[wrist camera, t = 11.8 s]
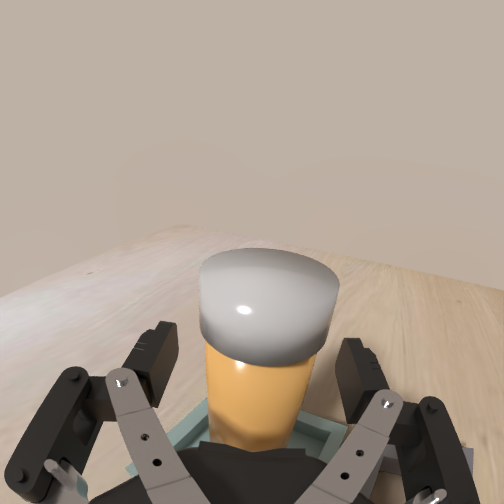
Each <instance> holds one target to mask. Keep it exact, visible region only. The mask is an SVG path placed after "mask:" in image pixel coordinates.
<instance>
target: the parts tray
mask: <svg viewBox="0 0 504 504" xmlns="http://www.w3.org/2000/svg"><path fill="white" fill-rule="evenodd" d="M347 429H348V426H345V425H342V424H339V423H336V422H333V421H330V420H327V419H324V418H321V417H319V416H316V415H313V414H310V413H308V412H305V411H303V410H300V411H299V414H298V417H297V420H296V423H295V426H294V429H293V432H292V435H291V437H290V440H289V443H288V446H287V448H305V450H306V455H308V456H312V457H315V458H317V459H320V460H322V461H324V462H325V463H327V464H328V463H329V462H330V461H331V459H332V458H333V457H334V455H335V454H336V453H337V451H338V450H339V448H340V445H341V443H342V441H343V438H344V436H345V434H346V431H347ZM166 435H167V437H168V439H169V440H170V442H171V444H172V446H173V448H174V449H175V451H179V450H182V449H186V448H191V447H198V446H199V442H200V440H201V441H207V442H210V437H209V421H208V402H207V398H206V399H205V400H203V401H202V402H201V403H200V404H199V405H198V406H197V407H196V408H195V409H194V410H193V411H192V412H191V413H189V414H188V415H187V416H186V417H185V418H184V419H183V420H182V421H181V422H179V423H178V424H177V425H176V426H175V427H174V428H173V429H172V430H170V431H169V432H168V433H167V434H166ZM125 469H126V470H127V472H128V473H129V475H130V476H131V478H133V477H134V476H136V475H138V472H137V470H136V467H135V465H134V463H133V462H132V463H131V464H130V465H129V466H127V467H126V468H125Z"/></svg>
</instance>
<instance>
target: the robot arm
mask: <svg viewBox="0 0 504 504" xmlns="http://www.w3.org/2000/svg"><path fill="white" fill-rule="evenodd" d="M178 352H179V347H178V336H177V325H176V323H172V322H166V321H160V322H159V324H158V325H157V327H156V329H155V330H152V329H149V330H147V331H146V332H144V333H143V334H142V335H141V336H140V338H139V339H138V341H137V343H136V344H135V346H134V348H133V349H132V351H131V352H130V354H129V356H128V357H127V359H126V361H125V362H124V364H123V366H122V367H121V368H117V369H114V370H112V371H110V372H109V373H108V374H107V376H104V377H98V376H89V375H88V373H87V371H86V370H85V369H84V368H81V367H76V366H75V367H70V368H67V369H66V370H64V371H63V372H62V373H61V375H60V376H59V378H58V379H57V381H56V382H55V384H54V385H53V387H52V388H51V390H50V392H49V393H48V395H47V396H46V398H45V399H44V401H43V403H42V404H41V406H40V407H39V409H38V411H37V412H36V414H35V416H34V417H33V419H32V421H31V422H30V424H29V426H28V427H27V429H26V431H25V433H24V434H23V436H22V438H21V440H20V442H19V443H18V445H17V447H16V449H15V451H14V453H13V455H12V457H11V458H10V460H9V462H8V464H7V466H6V468H5V472H4V477H5V481H6V483H7V485H8V486H9V487H10V488H11V489H12V490H13V491H14V492H15V493H17V494H18V495H19V496H21V497H22V499H24V500H25V501H26V502H28V503H29V504H374V503H373V502H372V501H370V500H369V499H368V498H367V497H365V496H364V495H363V494H362V493H361V492H359V491H360V490H361V488H362V487H363V485H364V484H365V482H366V480H367V479H368V477H369V475H370V474H371V472H372V470H373V469H374V467H375V465H376V463H377V462H378V460H379V458H380V456H381V454H382V452H383V450H384V449H385V447H386V445H387V444H391V445H395V448H396V452H397V457H398V461H399V466H400V471H401V475H402V480H403V486H404V491H405V496H406V503H405V504H480V501H479V497H478V494H477V490H476V487H475V484H474V481H473V477H472V474H471V471H470V468H469V465H468V463H467V460H466V457H465V454H464V451H463V449H462V446H461V444H460V441H459V438H458V436H457V433H456V431H455V428H454V426H453V424H452V421H451V419H450V417H449V414H448V412H447V410H446V407H445V405H444V403H443V402H442V401H441V400H439V399H438V398H436V397H432V396H428V397H424V398H423V399H422V400H421V401H420V403H419V404H417V403H410V402H404V401H403V400H402V398H401V396H400V395H399V394H398V393H396V392H394V391H392V390H390V388H389V386H388V384H387V381H386V379H385V376H384V374H383V372H382V370H381V367H380V365H379V364H378V360H377V358H376V355H375V354H374V353H373V352H372V351H371V350H370V349H369V348H364V347H363V344H362V342H361V340H360V338H344V339H343V342H342V345H341V348H340V351H339V354H338V357H337V360H336V365H335V373H336V377H337V382H338V386H339V390H340V394H341V399H342V403H343V407H344V412H345V416H346V421H347V424H356V425H355V427H354V428H353V430H352V431H351V433H350V434H349V436H348V437H347V439H346V440H345V441H344V443H343V444H342V446H341V447H340V449H339V450H338V451H337V453H336V454H335V455H334V457H333V458H332V459H331V461H330V462H329V463H328V464H327V463H325V462H324V461H322V460H320V459H317V458H315V457H312V456H308V455H306V450H305V448H278V449H272V450H265V451H259V452H250V451H246V450H243V449H240V448H236V447H233V446H230V445H227V444H221V443H214V442H207V441H201V440H200V442H199V446H198V447H191V448H186V449H182V450H179V451H175V449H174V448H173V446H172V444H171V442H170V440H169V439H168V437H167V435H166V433H165V431H164V429H163V427H162V425H161V423H160V421H159V419H158V417H157V415H156V413H155V411H154V409H153V408H152V407H155V408H158V406H159V403H160V401H161V398H162V396H163V393H164V391H165V388H166V386H167V383H168V381H169V378H170V376H171V373H172V371H173V368H174V366H175V363H176V361H177V358H178ZM150 406H151V407H150ZM104 421H112V422H118V425H119V428H120V431H121V433H122V436H123V439H124V441H125V444H126V446H127V449H128V451H129V454H130V456H131V458H132V461H133V463H134V465H135V467H136V470H137V472H138V475H136V476H134V477H133V478H131V479H129V480H127V481H126V482H124V483H122V484H120V485H118V486H116V487H115V488H113V489H111V490H109V491H107V492H105V493H103V494H101V495H99V496H97V497H95V498H94V499H92V500H91V501H90V502H89V501H88V498H87V492H88V486H87V483H86V481H85V479H84V478H83V477H82V473H83V471H84V468H85V465H86V463H87V460H88V458H89V455H90V453H91V450H92V448H93V445H94V443H95V440H96V438H97V436H98V433H99V431H100V429H101V426H102V424H103V422H104Z"/></svg>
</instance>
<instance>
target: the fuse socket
mask: <svg viewBox="0 0 504 504" xmlns="http://www.w3.org/2000/svg"><path fill="white" fill-rule="evenodd" d="M462 449H463V451H464V454H465V457H466V460H467V463H468V465H469V468H470V471H471V474H472V475H473V448H465V447H462ZM379 470H380V471H384V472H389V473H393V474H398V475H401V471H400V466H399V461H398V457H397V452H396V448H395V445H391V444H387V445H386V447H385V449H384V450H383V452H382V454H381V456H380V458H379V460H378V462H377V463H376V465H375V467H374V469H373V470H372V472H371V474H370V475H369V477H368V479H367V480H366V482H365V484H364V485H363V487H362V488H361V490H360V491H359V492H361V493H362V494H363V495H364V496H365V497H367V498H368V499H369V498H370V495H371V493H372V490H373V487H374V484H375V481H376V479H377V476H378V472H379Z"/></svg>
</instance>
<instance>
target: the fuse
mask: <svg viewBox="0 0 504 504" xmlns="http://www.w3.org/2000/svg"><path fill="white" fill-rule="evenodd" d="M339 285H340V284H339V279H338V277H337V276H336V274H335V273H334V272H333V271H332V270H331V269H330V268H328V267H327V266H325V265H324V264H322V263H320V262H318V261H316V260H314V259H312V258H309V257H306V256H303V255H300V254H297V253H292V252H288V251H283V250H276V249H265V248H245V249H235V250H230V251H225V252H221V253H218V254H216V255H213V256H211V257H210V258H208V259H207V260H205V261H204V262H203V263H202V265H201V266H200V269H199V323H200V330H201V333H202V335H203V337H204V339H205V344H206V379H207V402H208V421H209V437H210V442H214V443H221V444H227V445H230V446H233V447H236V448H240V449H243V450H246V451H250V452H259V451H265V450H272V449H278V448H287V446H288V443H289V440H290V437H291V435H292V432H293V429H294V426H295V423H296V420H297V417H298V414H299V411H300V408H301V405H302V402H303V399H304V396H305V392H306V389H307V386H308V383H309V379H310V376H311V372H312V369H313V366H314V362H315V358H316V355H317V352H318V351H319V350H320V349H321V348H322V347H323V345H324V344H325V342H326V339H327V336H328V332H329V328H330V324H331V320H332V316H333V312H334V308H335V304H336V300H337V296H338V291H339Z"/></svg>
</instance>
